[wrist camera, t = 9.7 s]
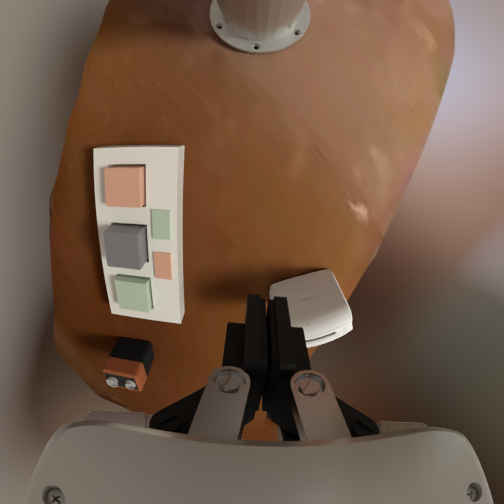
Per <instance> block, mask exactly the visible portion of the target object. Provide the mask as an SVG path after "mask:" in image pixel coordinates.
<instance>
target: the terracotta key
mask: <svg viewBox="0 0 504 504" xmlns="http://www.w3.org/2000/svg"><path fill="white" fill-rule="evenodd" d="M104 174H105V197H106V206H110V207H132V208H141V207H142V206H143V205H144V204H146V164H115V165H112V166H110V167H107V168H104Z"/></svg>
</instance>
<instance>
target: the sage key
mask: <svg viewBox="0 0 504 504" xmlns="http://www.w3.org/2000/svg"><path fill="white" fill-rule="evenodd" d="M114 281H115V287H116V293H117V298H118V304H119V308H122V309H128V310H134V311H141V312H148V313H149V312H150V310H151V308H152V306H153V298H152V289H151V279H150V277H141V276H133V275H125V274H119V275H118V276H117V277H116V279H115V280H114Z"/></svg>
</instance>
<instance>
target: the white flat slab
mask: <svg viewBox="0 0 504 504" xmlns="http://www.w3.org/2000/svg"><path fill="white" fill-rule="evenodd" d="M184 147H185V145H119V146H103V147H98V148H94V149H93V151H94V186H95V202H96V214H97V225H98V234H99V242H100V250H101V257H102V264H103V270H104V276H105V282H106V287H107V293H108V298H109V303H110V308H111V312H112V313H113V314H119V315H125V316H131V317H137V318H144V319H150V320H157V321H164V322H172V323H179V324H181V321H182V318H183V315H184V313H185V311H184V287H183V242H182V214H183V170H184ZM115 164H146V204H144V205H143V206H142V207H141V208H132V207H110V206H106V197H105V174H104V168H107V167H110V166H112V165H115ZM113 223H115V224H130V225H144V226H146V238H147V254H148V260H147V261H146V263H145V264H144V265H143V267H142V268H141V270H135V269H126V268H118V267H110V266H107V259H106V252H105V244H104V235H103V232H104V231H105V230H106V229H107V228H108V227H110V226H111V225H112V224H113ZM119 274H125V275H133V276H141V277H150V279H151V289H152V298H153V306H152V308H151V310H150V312H149V313H148V312H141V311H134V310H128V309H122V308H119V304H118V298H117V293H116V287H115V281H114V280H115V279H116V277H117V276H118V275H119Z"/></svg>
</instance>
